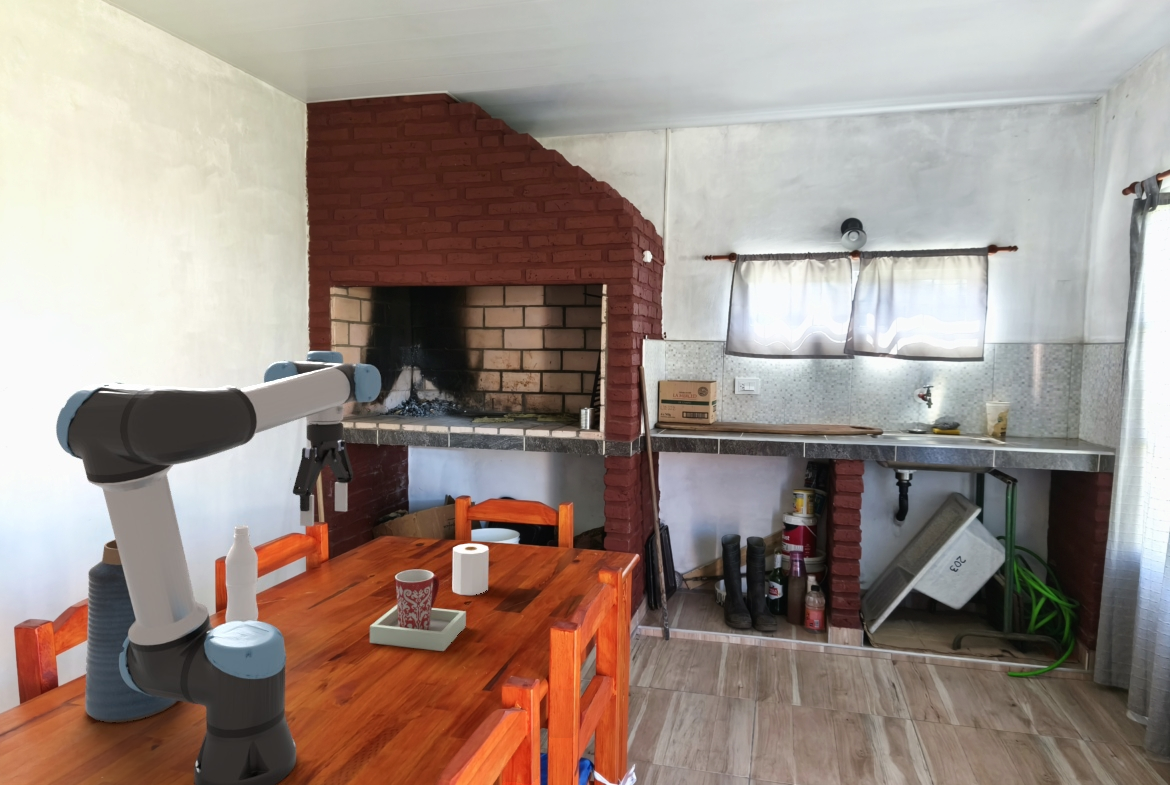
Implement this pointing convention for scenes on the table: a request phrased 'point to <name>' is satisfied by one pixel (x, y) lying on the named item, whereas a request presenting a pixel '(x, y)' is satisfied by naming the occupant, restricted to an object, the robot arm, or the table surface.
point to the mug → (416, 598)
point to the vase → (112, 646)
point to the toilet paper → (470, 569)
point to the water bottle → (241, 578)
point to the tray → (419, 630)
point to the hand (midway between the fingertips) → (324, 518)
